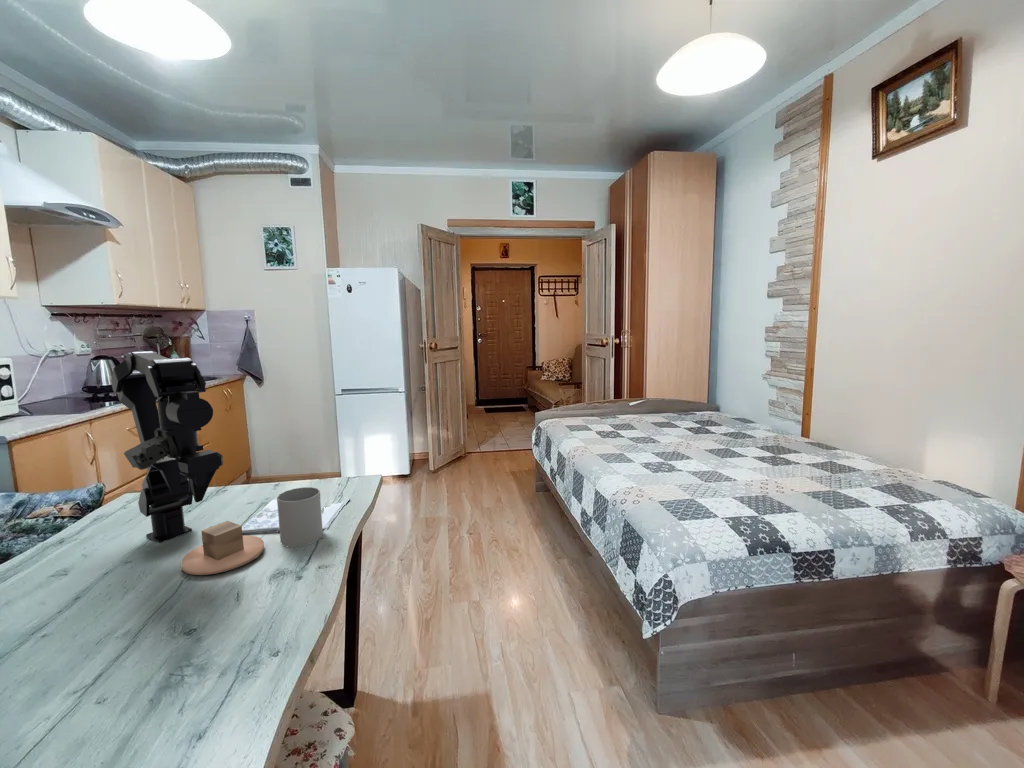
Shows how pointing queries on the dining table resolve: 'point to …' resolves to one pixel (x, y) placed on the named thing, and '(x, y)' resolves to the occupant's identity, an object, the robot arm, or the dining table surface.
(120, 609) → the dining table surface
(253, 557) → the salmon pink disc
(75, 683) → the dining table surface
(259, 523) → the patterned cloth
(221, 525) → the walnut block
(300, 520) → the cup
